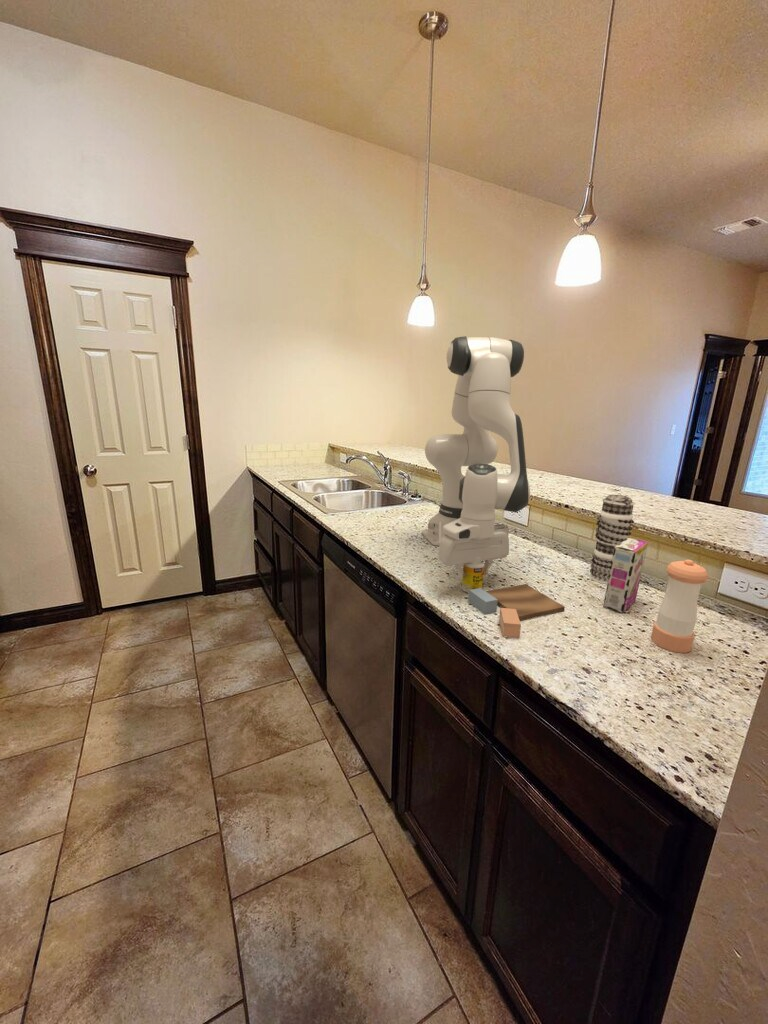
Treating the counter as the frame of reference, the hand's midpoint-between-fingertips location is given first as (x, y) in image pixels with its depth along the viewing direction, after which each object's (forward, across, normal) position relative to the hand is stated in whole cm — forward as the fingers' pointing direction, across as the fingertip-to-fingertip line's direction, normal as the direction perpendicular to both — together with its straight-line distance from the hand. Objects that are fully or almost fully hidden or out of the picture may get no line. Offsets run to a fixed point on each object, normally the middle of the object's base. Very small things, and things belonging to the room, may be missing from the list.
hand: (472, 575), depth 111 cm
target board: (+4, -8, +11) cm, 14 cm away
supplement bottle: (+4, 0, 0) cm, 4 cm away
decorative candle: (+4, -42, +7) cm, 43 cm away
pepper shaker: (+4, -26, +37) cm, 45 cm away
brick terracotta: (+4, +4, +20) cm, 21 cm away
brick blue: (+4, +3, +9) cm, 10 cm away
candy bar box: (+4, -32, +20) cm, 38 cm away
